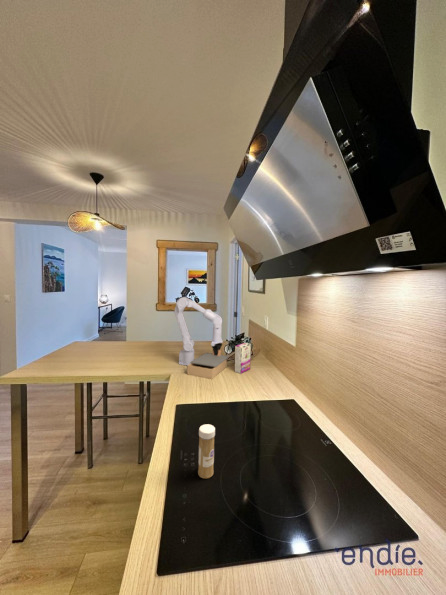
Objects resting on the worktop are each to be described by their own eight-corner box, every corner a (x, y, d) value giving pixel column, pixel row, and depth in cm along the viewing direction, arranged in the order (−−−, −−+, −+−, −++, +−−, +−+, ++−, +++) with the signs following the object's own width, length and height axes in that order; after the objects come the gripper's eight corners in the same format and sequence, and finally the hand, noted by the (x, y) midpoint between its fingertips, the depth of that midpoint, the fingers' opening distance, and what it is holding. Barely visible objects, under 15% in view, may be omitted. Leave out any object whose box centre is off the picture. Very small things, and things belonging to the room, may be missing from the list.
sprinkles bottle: (209, 481, 70) (211, 434, 69) (195, 476, 71) (196, 430, 71) (216, 470, 74) (217, 425, 73) (202, 465, 76) (203, 422, 75)
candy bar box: (243, 367, 163) (244, 342, 162) (250, 369, 160) (251, 343, 159) (233, 372, 154) (234, 345, 153) (240, 374, 151) (241, 347, 150)
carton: (187, 374, 148) (187, 365, 148) (204, 363, 168) (204, 355, 168) (212, 379, 142) (212, 369, 142) (226, 367, 162) (226, 358, 162)
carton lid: (190, 362, 151) (190, 356, 151) (206, 353, 172) (206, 347, 172) (215, 367, 145) (215, 360, 145) (229, 356, 166) (229, 350, 166)
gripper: (218, 337, 158) (217, 358, 159) (226, 332, 171) (226, 352, 172) (208, 335, 160) (207, 356, 161) (217, 331, 174) (216, 351, 175)
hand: (216, 354), depth 167 cm, fingers closed on carton lid, 2 cm apart
